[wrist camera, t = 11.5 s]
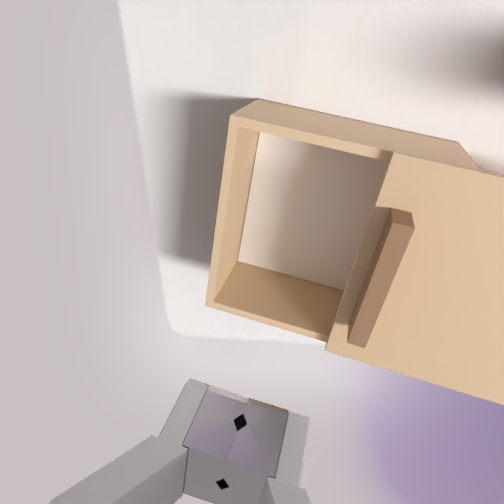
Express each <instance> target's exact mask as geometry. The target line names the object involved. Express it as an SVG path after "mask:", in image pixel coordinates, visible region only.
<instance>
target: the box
mask: <svg viewBox="0 0 504 504" xmlns="http://www.w3.org/2000/svg"><path fill="white" fill-rule="evenodd" d="M393 150H398V151H402V152H407V153H411V154H415V155H420V156H424V157H429V158H433V159H438V160H442V161H446V162H451V163H455V164H460V165H464V166H468V167H473V168H477V169H480V168H479V167H478V166H477V164H476V163H475V162H474V161H473V159H472V158H471V157H470V156H469V155H468V153H467V152H466V151H465V150H464V149H463V147H462V146H461V145H460V144H459V142H455V141H450V140H446V139H441V138H436V137H432V136H427V135H423V134H418V133H414V132H409V131H405V130H400V129H395V128H391V127H386V126H382V125H377V124H373V123H368V122H364V121H359V120H355V119H350V118H345V117H341V116H336V115H332V114H327V113H323V112H318V111H314V110H309V109H304V108H300V107H295V106H291V105H286V104H282V103H277V102H273V101H268V100H264V99H257V100H255V101H253V102H252V103H250V104H248V105H246V106H244V107H243V108H241V109H239V110H237V111H236V112H234V113H232V114H230V119H229V126H228V134H227V142H226V150H225V157H224V165H223V173H222V180H221V188H220V196H219V203H218V211H217V219H216V226H215V234H214V242H213V249H212V257H211V265H210V272H209V280H208V288H207V296H206V303H205V306H208V307H212V308H215V309H218V310H221V311H225V312H228V313H231V314H235V315H238V316H241V317H245V318H248V319H251V320H255V321H258V322H261V323H265V324H268V325H271V326H275V327H278V328H281V329H285V330H288V331H291V332H295V333H298V334H301V335H305V336H308V337H311V338H315V339H318V340H321V341H325V342H327V339H328V336H329V334H330V331H331V328H332V325H333V322H334V319H335V316H336V313H337V310H338V307H339V305H340V302H341V299H342V296H343V293H344V290H345V287H346V284H347V281H348V279H349V276H350V273H351V270H352V267H353V264H354V261H355V258H356V255H357V253H358V250H359V247H360V244H361V241H362V238H363V235H364V232H365V229H366V227H367V224H368V221H369V218H370V215H371V212H372V209H373V206H374V203H375V201H376V198H377V195H378V192H379V189H380V186H381V183H382V180H383V177H384V175H385V172H386V169H387V166H388V163H389V160H390V157H391V154H392V151H393Z"/></svg>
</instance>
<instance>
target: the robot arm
mask: <svg viewBox="0 0 504 504" xmlns="http://www.w3.org/2000/svg"><path fill="white" fill-rule="evenodd" d="M309 427H310V419H309V417H306V416H303V415H300V414H296V413H293V412H290V411H289V412H288V410H286V409H282V408H279V407H276V406H273V405H270V404H266V403H263V402H260V401H257V400H254V399H251V398H249V399H248V398H245V397H242V396H239V395H237V394H234V393H231V392H228V391H225V390H222V389H219V388H217V387H214V386H211V385H208V384H205V383H202V382H199V381H196V380H193V379H189V381H188V382H187V383H186V384H185V386H184V388H183V390H182V392H181V394H180V396H179V398H178V400H177V402H176V404H175V405H174V408H173V409H172V411H171V413H170V415H169V417H168V419H167V421H166V423H165V425H164V427H163V429H162V431H161V433H160V435H159V437H155V436H151V437H149V438H148V439H146V440H144V441H143V442H141V443H140V444H138V445H137V446H135V447H133V448H132V449H130V450H129V451H127V452H126V453H124V454H123V455H121V456H119V457H118V458H116V459H115V460H113V461H112V462H110V463H108V464H107V465H106V466H104V467H102V468H101V469H100V470H98V471H96V472H94V473H93V474H91V475H90V476H88V477H87V478H85V479H84V480H82V481H80V482H79V483H77V484H76V485H74V486H73V487H71V488H70V489H68V490H66V491H65V492H64V493H62V494H60V495H59V496H57V497H55V498H54V499H52V500H51V501H50V503H49V504H174V503H175V502H176V501H177V500H178V499H179V498H180V497H181V496H182V495H183V493H184V494H187V495H190V496H193V497H196V498H199V499H202V500H205V501H208V502H211V503H214V504H311V501H310V498H309V496H308V493H307V490H304V489H302V488H300V484H301V478H302V471H303V465H304V459H305V452H306V446H307V440H308V433H309Z"/></svg>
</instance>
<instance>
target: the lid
mask: <svg viewBox="0 0 504 504" xmlns="http://www.w3.org/2000/svg"><path fill="white" fill-rule="evenodd" d="M325 351H328V352H331V353H334V354H338V355H341V356H344V357H348V358H351V359H354V360H357V361H361V362H364V363H368V364H370V365H374V366H377V367H380V368H384V369H387V370H390V371H394V372H397V373H400V374H404V375H407V376H410V377H413V378H417V379H420V380H423V381H426V382H430V383H433V384H437V385H440V386H443V387H446V388H450V389H453V390H456V391H459V392H463V393H466V394H469V395H473V396H476V397H479V398H482V399H486V400H489V401H493V402H496V403H499V404H502V405H504V174H499V173H495V172H490V171H486V170H482V169H477V168H473V167H468V166H464V165H460V164H455V163H451V162H446V161H442V160H438V159H433V158H429V157H424V156H420V155H415V154H411V153H407V152H402V151H398V150H393V151H392V154H391V157H390V160H389V163H388V166H387V169H386V172H385V175H384V177H383V180H382V183H381V186H380V189H379V192H378V195H377V198H376V201H375V203H374V206H373V209H372V212H371V215H370V218H369V221H368V224H367V227H366V229H365V232H364V235H363V238H362V241H361V244H360V247H359V250H358V253H357V255H356V258H355V261H354V264H353V267H352V270H351V273H350V276H349V279H348V281H347V284H346V287H345V290H344V293H343V296H342V299H341V302H340V305H339V307H338V310H337V313H336V316H335V319H334V322H333V325H332V328H331V331H330V334H329V336H328V339H327V342H326V346H325Z"/></svg>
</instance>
